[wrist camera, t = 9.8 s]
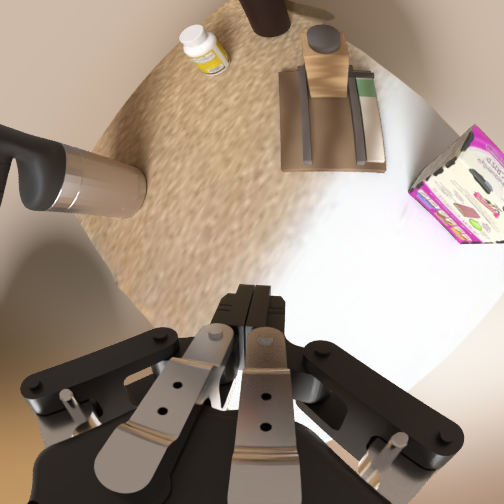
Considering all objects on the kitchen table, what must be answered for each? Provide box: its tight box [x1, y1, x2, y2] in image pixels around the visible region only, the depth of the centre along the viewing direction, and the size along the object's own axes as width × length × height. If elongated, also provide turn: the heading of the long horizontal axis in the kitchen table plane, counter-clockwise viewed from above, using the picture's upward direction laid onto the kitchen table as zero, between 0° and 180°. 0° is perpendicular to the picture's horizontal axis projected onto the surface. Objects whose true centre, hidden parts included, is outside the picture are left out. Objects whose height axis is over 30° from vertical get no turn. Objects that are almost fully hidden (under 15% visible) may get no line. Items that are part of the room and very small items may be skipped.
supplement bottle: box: [179, 25, 230, 76], centre depth 33 cm, size 5×5×10 cm
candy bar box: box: [408, 124, 504, 244], centre depth 22 cm, size 11×5×16 cm, turn 52°
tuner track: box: [279, 65, 386, 173], centre depth 32 cm, size 14×16×4 cm
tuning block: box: [301, 25, 374, 98], centre depth 26 cm, size 9×4×12 cm, turn 90°
